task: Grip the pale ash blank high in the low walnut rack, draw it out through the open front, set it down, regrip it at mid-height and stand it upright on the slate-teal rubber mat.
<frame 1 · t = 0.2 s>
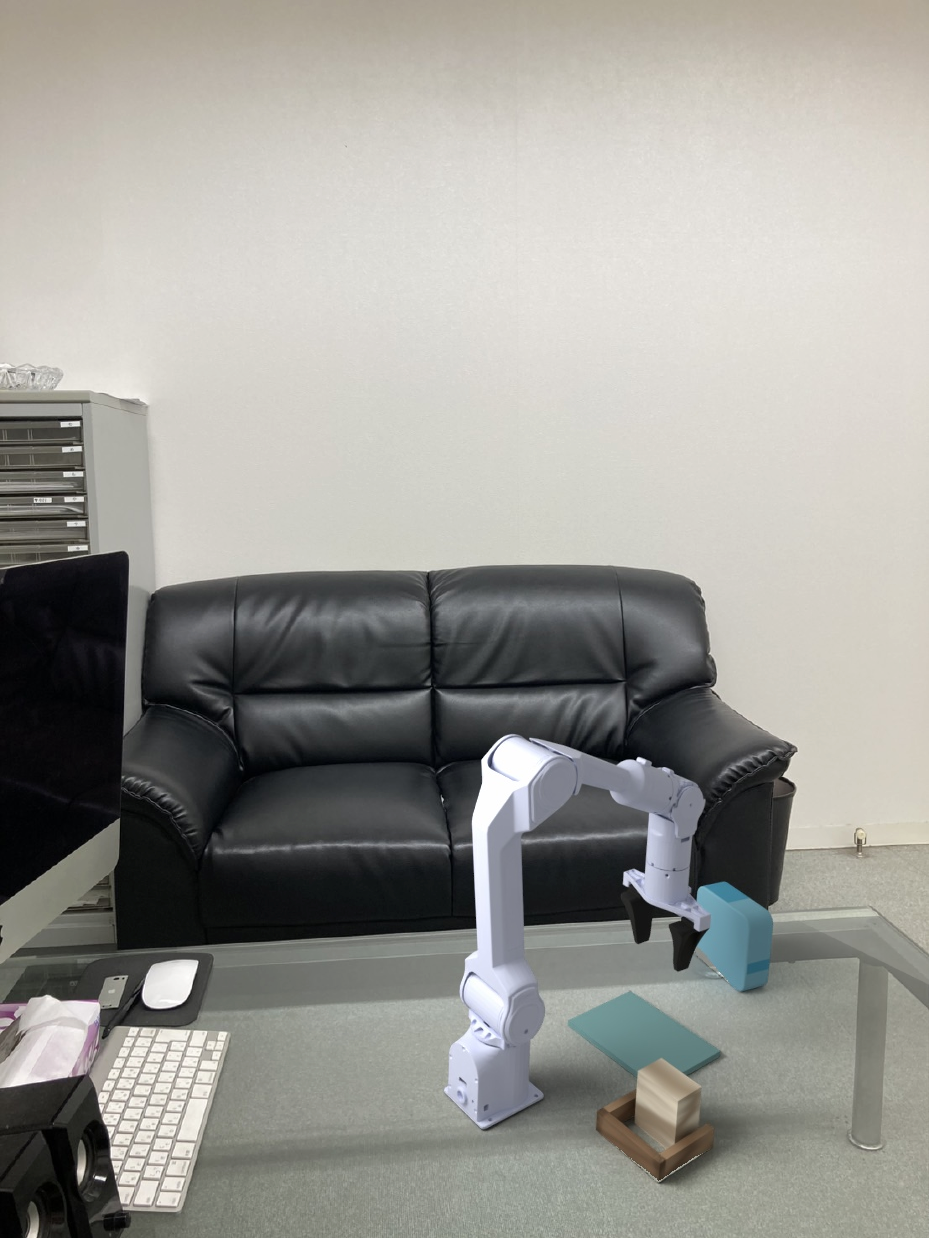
hand: (661, 954, 127), 10 cm above the table, tool pointing down, fingers open, 7 cm apart
slate-teal mat: (642, 1040, 125), on the table
ash blank: (667, 1105, 108), in the walnut rack
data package: (728, 972, 141), on the table
walnut rack: (665, 1131, 109), on the table
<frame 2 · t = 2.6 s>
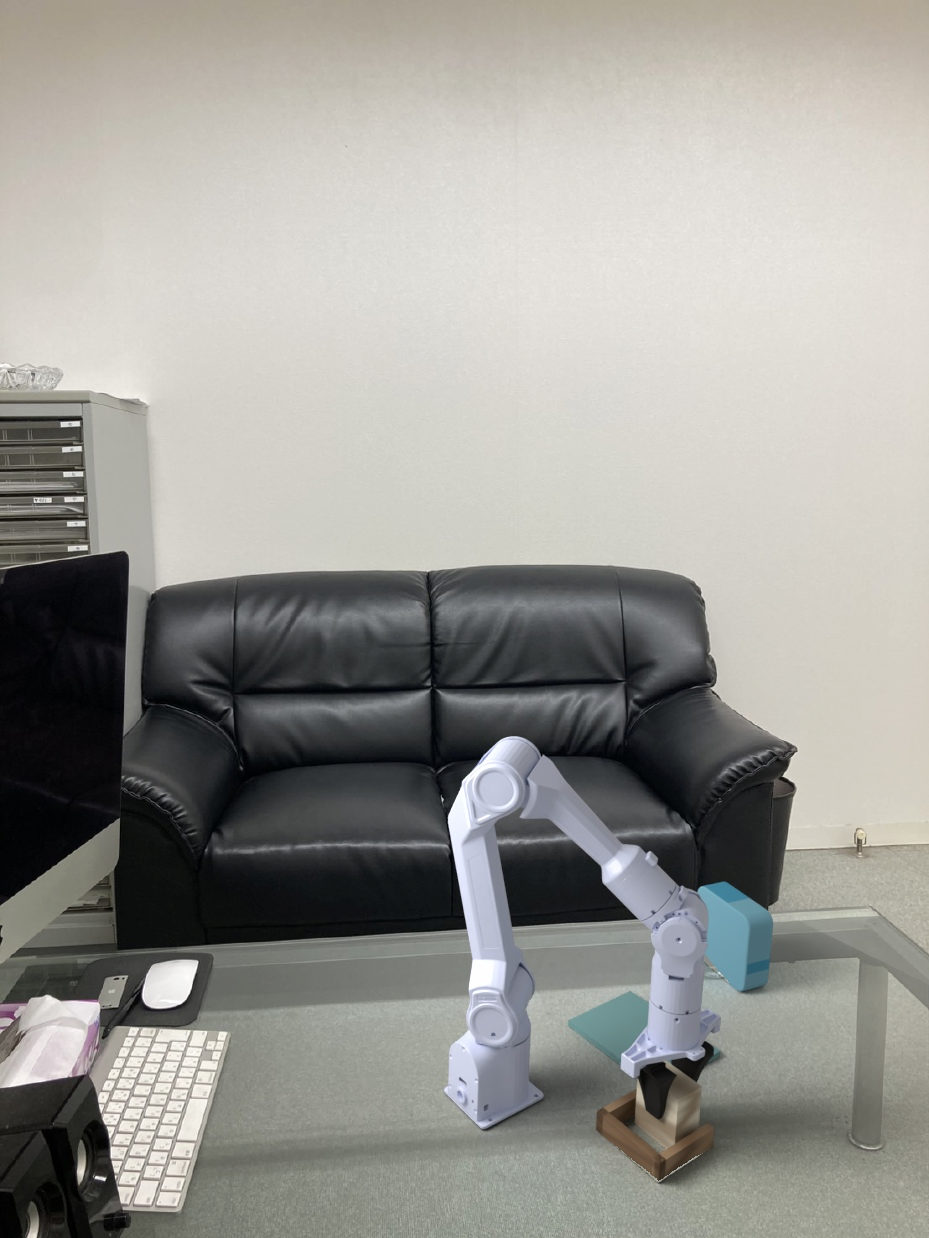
hand: (667, 1105, 108), 3 cm above the table, tool pointing down, fingers closed on ash blank, 4 cm apart
ash blank: (667, 1104, 108), in the walnut rack, touching gripper
everything else where it was.
when the fingers open (4 cm above the table, at t = 6.3 s): ash blank stays where it is, on the table.
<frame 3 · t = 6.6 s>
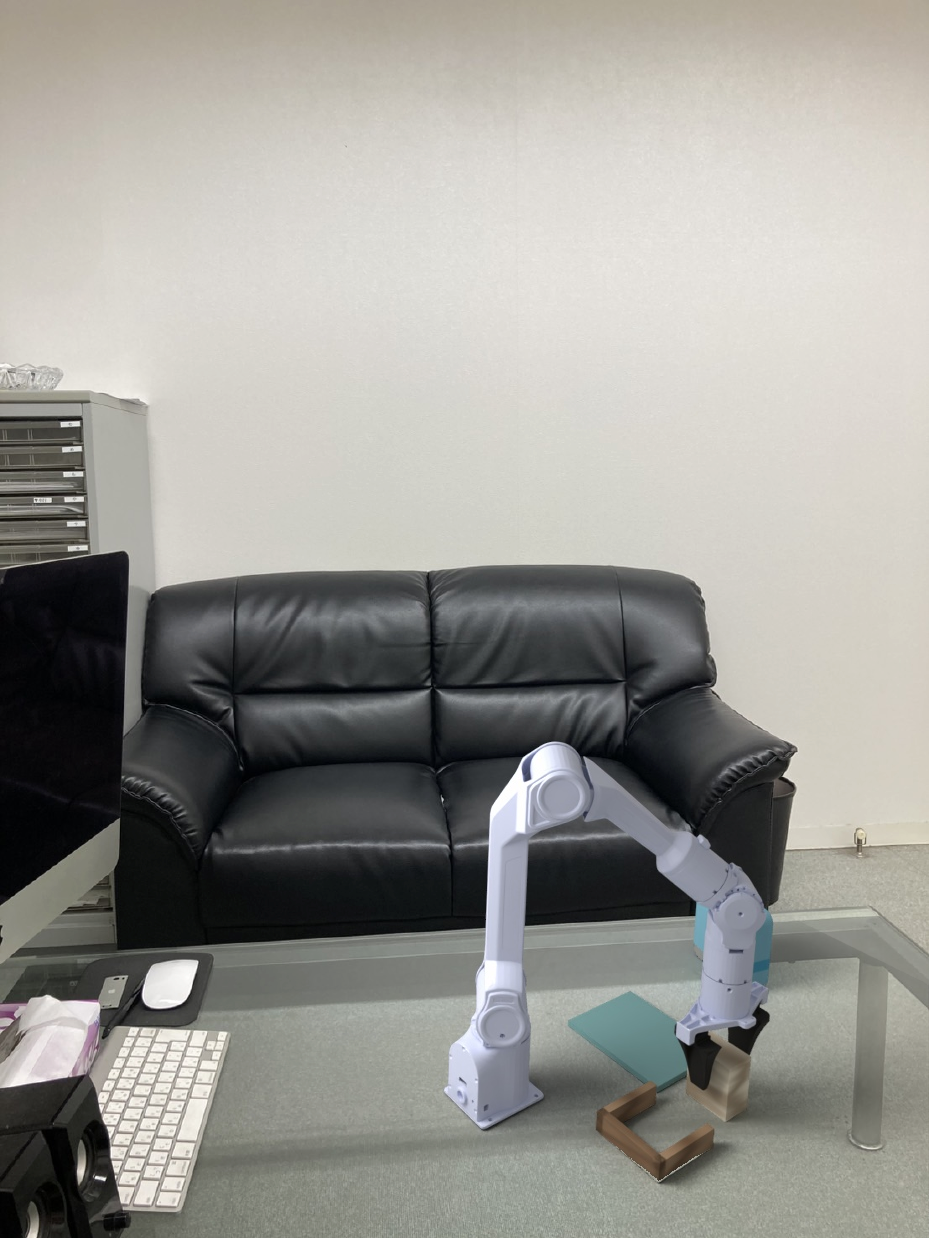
hand: (718, 1073, 113), 4 cm above the table, tool pointing down, fingers open, 7 cm apart
ash blank: (717, 1075, 113), on the table
everything else where it was.
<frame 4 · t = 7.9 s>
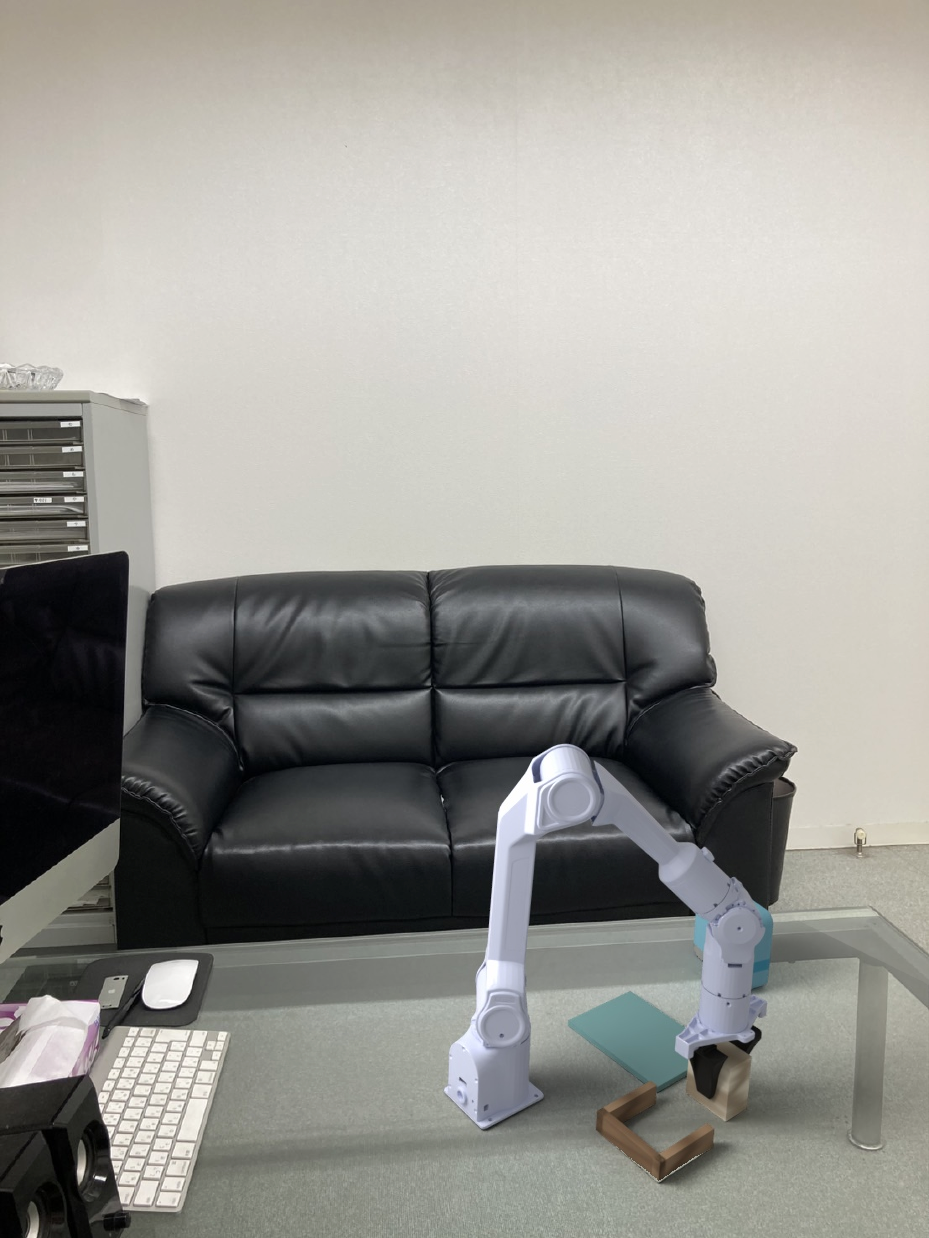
hand: (717, 1086, 113), 2 cm above the table, tool pointing down, fingers closed on ash blank, 4 cm apart
ash blank: (718, 1074, 113), on the table, touching gripper
everything else where it was.
when the fingers open (4 cm above the table, at t = 12.5 s): ash blank stays where it is, resting on slate-teal mat.
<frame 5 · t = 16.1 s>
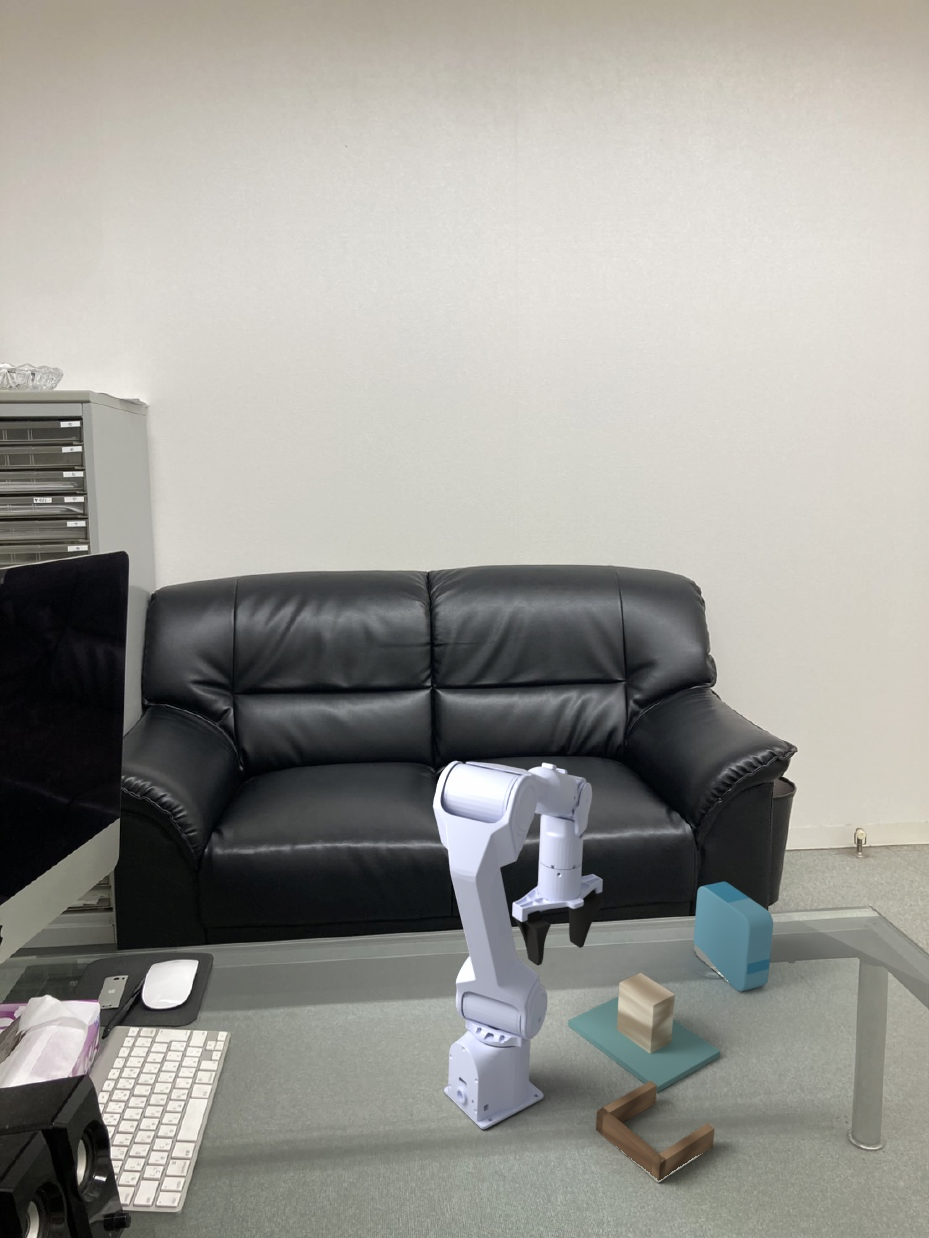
hand: (556, 952, 128), 9 cm above the table, tool pointing down, fingers open, 7 cm apart
ash blank: (645, 1012, 124), on the slate-teal mat, point 4 cm above the table
everything else where it was.
at the end: ash blank inside the target area on the slate-teal mat (0.2 cm from its centre), point 4.3 cm above the slate-teal mat's base; ash blank tilted 0°; the gripper is holding nothing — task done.
